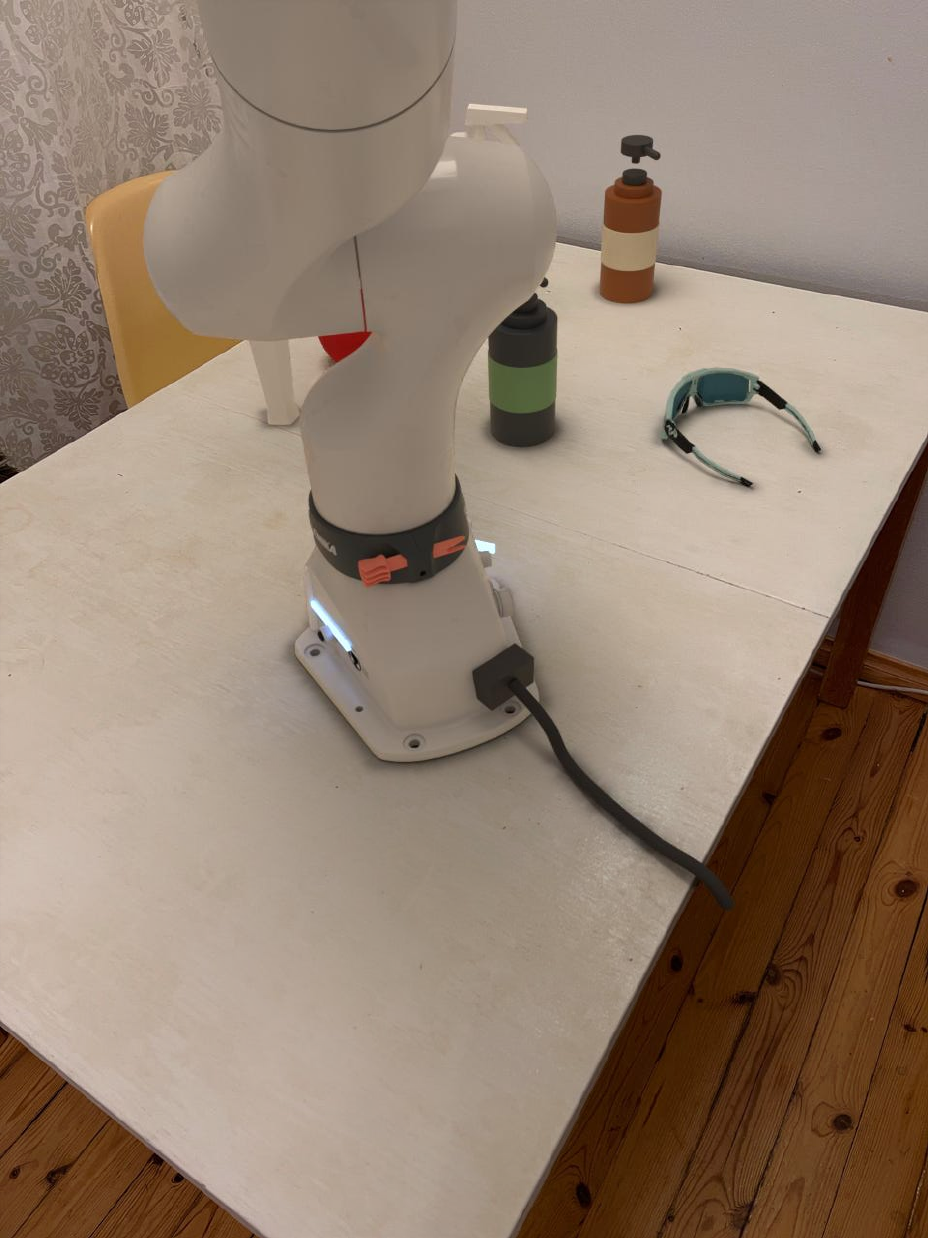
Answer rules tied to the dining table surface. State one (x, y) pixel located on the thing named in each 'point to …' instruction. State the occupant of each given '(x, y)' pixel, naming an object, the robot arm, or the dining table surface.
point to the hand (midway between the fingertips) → (314, 46)
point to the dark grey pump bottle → (523, 375)
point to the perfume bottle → (276, 380)
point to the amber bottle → (630, 237)
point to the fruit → (343, 343)
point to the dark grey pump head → (638, 147)
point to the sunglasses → (719, 390)
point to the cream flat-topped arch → (492, 121)
